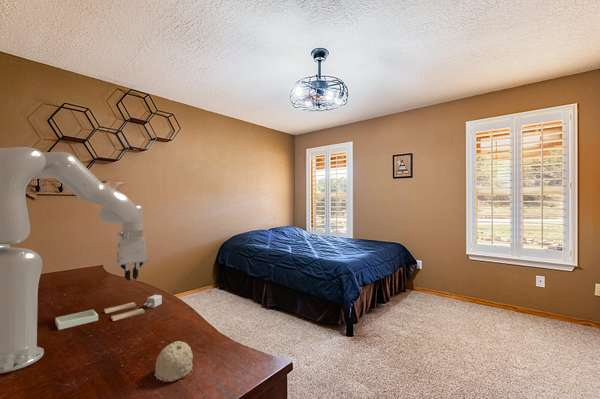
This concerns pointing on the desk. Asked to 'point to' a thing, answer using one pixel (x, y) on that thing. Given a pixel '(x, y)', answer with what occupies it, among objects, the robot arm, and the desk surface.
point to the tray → (76, 319)
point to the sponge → (174, 361)
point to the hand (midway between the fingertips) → (131, 279)
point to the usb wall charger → (154, 301)
